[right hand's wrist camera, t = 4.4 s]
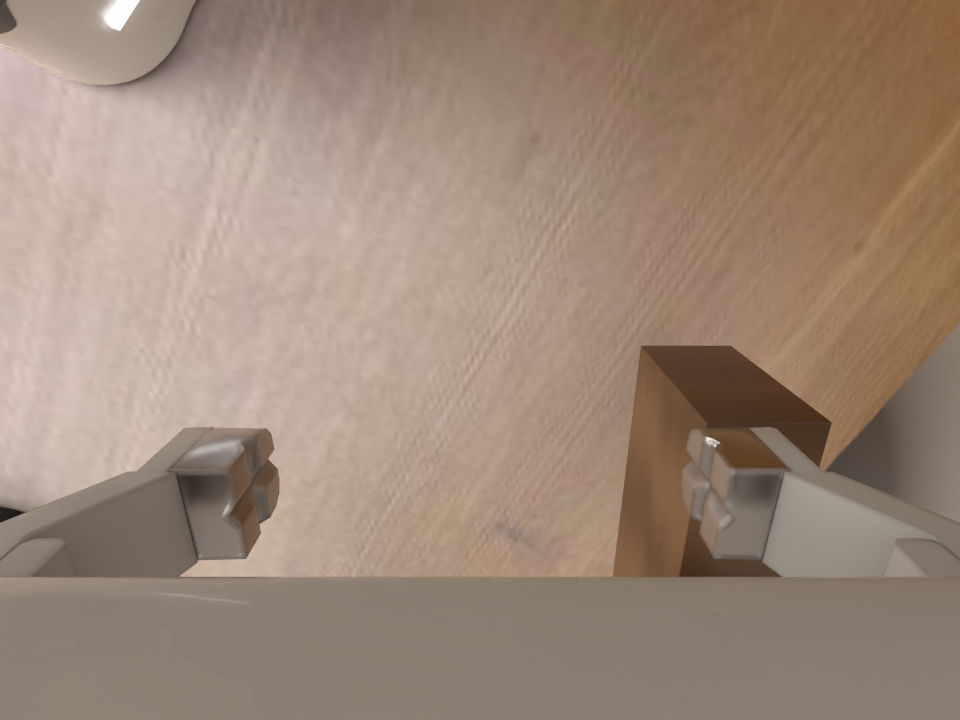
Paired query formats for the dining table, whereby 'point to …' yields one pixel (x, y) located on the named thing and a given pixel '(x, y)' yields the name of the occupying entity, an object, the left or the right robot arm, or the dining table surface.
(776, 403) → the box
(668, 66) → the dining table surface
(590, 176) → the dining table surface
